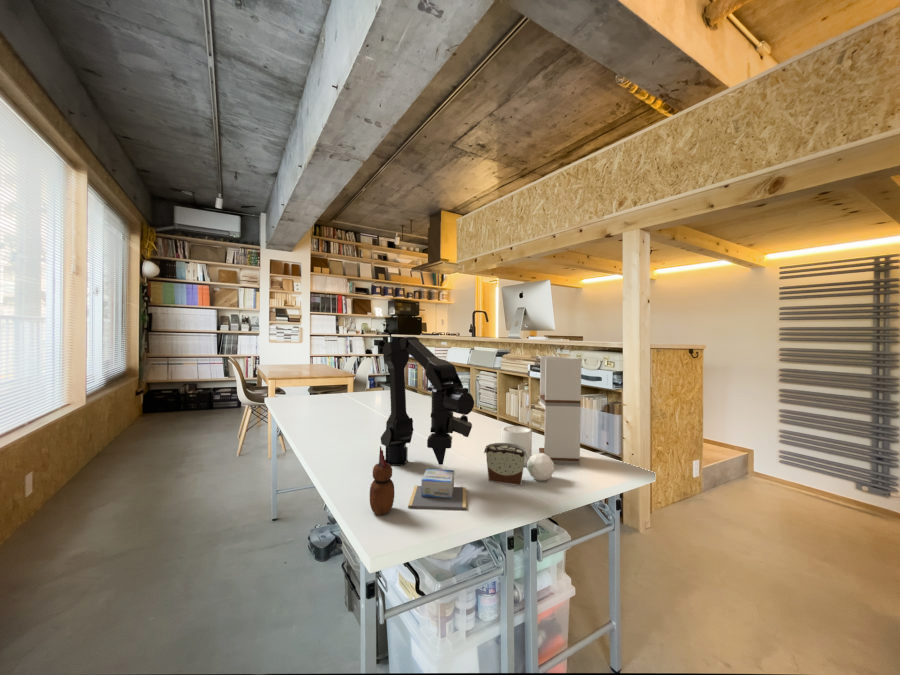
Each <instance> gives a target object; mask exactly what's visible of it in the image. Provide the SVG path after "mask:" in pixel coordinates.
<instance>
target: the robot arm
mask: <svg viewBox="0 0 900 675" xmlns="http://www.w3.org/2000/svg"><path fill="white" fill-rule="evenodd" d="M382 355H383V361H384V363H385V365H386V367H387V368H388V369H389V388H390V389H389V392H390V394H389V396H390V415H389V416H388V418H387V421H386V422H385V423H386V424H385V430H384V432H383V433H382V434H381V436H380V443H381V445H383V446H385V457H384V458H385V461H386V463H388V464H390V465H391V466H405V464H406V463H407V461H408V455H409V452H408V451H409V450H408V449H409V448H408V446H407V444H411V442H412V438H413V433H414V426H413V425H414V424H413V423H414V420H413V418H412V417H410V416H409V414H408V413H407V399H406V398H407V397H406V395H407V394H406V376H405V375H406V374H405V373H406V372H405V368H406V367H407V364H408V363H409V361H410V356H411V357H412V358H413V359H414V360H415V361H416V362H417V363H418V364H419V365H420V366H421V367H423V369H424V375H425V377H426V378H427V380H428V381H429V382H430V384H431V385H430V386H428V387H427V391H428V392H431V413H430V418H431V423H430V424H431V425H430V426H431V427H430V433H431V434H429V436H428V437H427V440H426V442H427V443H426V447H427V448H429V449H432V452H433V453H434V455H435V458H436V460H437V463H438V465H439V466H440V465H441V466H442V465H444V462H445V456H446V452H447V449H451V448H452V444H453V436H452V435H450V434H453V433H457V434H458V435H462V436H463V437H466V438H469V436H470V433H471V430H472V428H473V423H472V422H471V421H469V418H468V415H469V414H470V413H471V412H472V411H473V409H474V406H475V400H474V397H473V395H472V394H471V393H469V388H468V387H464V385H463V383H462V380H461V378H460V376H459V374H458V372H457V369H456V367H455V365H454V364H453V363H451V362H450V361H448V360H445V359H442V358H440V357H438V356H436V355H435V354H434V353H433V352H431V350H430V349H428V347H426V346H425V345H424V344H423V343H422V342H421V341H420V339H419V337H416V336H404V337H403V336H402V337H401V338H399V339H396V340H393V341H392V340H391V341H386V343H385V344H384V345H383V347H382ZM454 413H455V414H460V415H461V416H460V417H458V416H454Z"/></svg>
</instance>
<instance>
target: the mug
mask: <svg viewBox="0 0 900 675" xmlns="http://www.w3.org/2000/svg"><path fill="white" fill-rule="evenodd" d="M500 433H501V434H500V437H501V438H500V443H510V444H516V445H519V446H522V447H523V448H524V449H525V451H526V454H527V458H526V455H525V458H524V466H525V467H526V466H527V462H528V460H529V458H530V456H532V455H533V452H532V451H533V450H532V448H533V447H532V445H533V443H532V442H533V429H532V428H530V427H527V426H522V425H507V426H503V427H501V431H500ZM524 466H523V467H524Z"/></svg>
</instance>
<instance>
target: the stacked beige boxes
mask: <svg viewBox="0 0 900 675" xmlns="http://www.w3.org/2000/svg"><path fill="white" fill-rule="evenodd" d="M539 358H540V360H539V362H540V364H539V365H540V367H539V370H540V371H539V372H540V373H539V377H540V378H539V405H540V406H541V408H543V409H544V438H543V439H544V441H543V442H544V443H543V445H544V447H539V448H538V453H544V454H546V455H547V456H549V457H550V459H551V460H552V461H553V463H554V465H573V466H574V465H575V466H580V465H581V464H580V463H581V462H580V461H581V460H580V459H581V411H582V410H581V408H582V407H581V404H582V403H581V402H582V401H581V400H582V399H581V398H582V397H581V396H582V395H581V394H582V358H579V357H575V356H552V355H551V356H550V355H549V356H547V355H546V356H545V355H543V356H541V355H540V357H539Z"/></svg>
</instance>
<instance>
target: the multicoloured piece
mask: <svg viewBox="0 0 900 675" xmlns="http://www.w3.org/2000/svg"><path fill="white" fill-rule="evenodd" d="M483 454H485V456H486V465H487V468H486V469H487V477H488V482H491V483H498V484H507V485H513V486H522V483H523V481H522V480H523V472H524V458H525V455H526V458H527V454H526V451H525V449H524V448H523V447H522V446H519V445H516V444H510V443H501V442H495V443H490V444H488V445H486V446H485V447H484V452H483Z"/></svg>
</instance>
